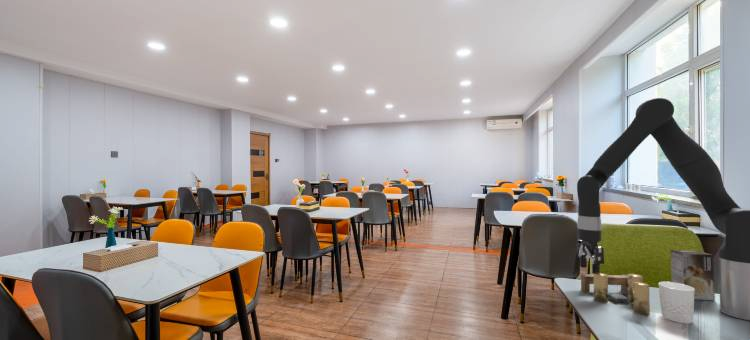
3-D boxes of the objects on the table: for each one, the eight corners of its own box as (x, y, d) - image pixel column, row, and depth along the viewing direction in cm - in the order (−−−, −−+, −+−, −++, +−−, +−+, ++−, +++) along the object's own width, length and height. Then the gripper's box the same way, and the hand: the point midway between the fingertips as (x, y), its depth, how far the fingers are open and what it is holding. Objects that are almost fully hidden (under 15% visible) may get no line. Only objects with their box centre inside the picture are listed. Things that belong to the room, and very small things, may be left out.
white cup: (703, 326, 90) (702, 291, 90) (671, 323, 91) (670, 289, 91) (682, 314, 97) (681, 282, 98) (653, 312, 99) (652, 280, 99)
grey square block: (620, 299, 110) (620, 294, 110) (628, 304, 105) (628, 298, 106) (607, 299, 110) (607, 293, 110) (615, 304, 106) (615, 298, 106)
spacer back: (643, 310, 100) (643, 282, 101) (653, 315, 96) (652, 286, 97) (630, 309, 101) (629, 281, 101) (639, 314, 97) (638, 285, 97)
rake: (586, 293, 115) (586, 277, 115) (579, 288, 120) (579, 273, 120) (634, 295, 113) (634, 279, 113) (625, 290, 117) (625, 274, 118)
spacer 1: (603, 298, 110) (603, 272, 110) (610, 302, 106) (610, 276, 106) (591, 297, 111) (591, 272, 111) (598, 302, 107) (597, 276, 107)
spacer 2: (637, 299, 109) (637, 274, 109) (646, 304, 105) (645, 277, 105) (625, 299, 109) (624, 273, 110) (633, 303, 105) (632, 277, 106)
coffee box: (700, 294, 113) (699, 250, 114) (715, 301, 107) (714, 254, 108) (671, 292, 115) (670, 249, 116) (684, 299, 109) (682, 253, 110)
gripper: (611, 231, 110) (611, 277, 109) (589, 225, 124) (589, 265, 124) (589, 230, 111) (589, 276, 110) (569, 224, 125) (569, 264, 125)
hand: (589, 270), depth 117 cm, fingers open, 8 cm apart
